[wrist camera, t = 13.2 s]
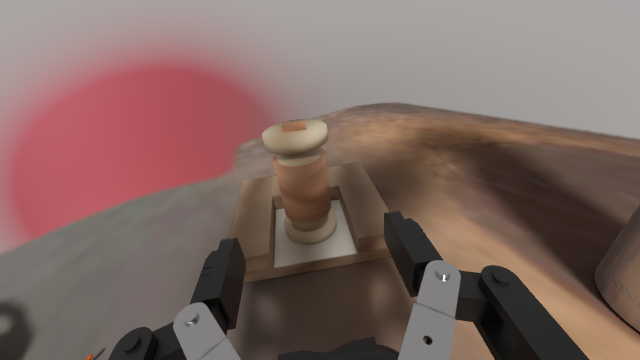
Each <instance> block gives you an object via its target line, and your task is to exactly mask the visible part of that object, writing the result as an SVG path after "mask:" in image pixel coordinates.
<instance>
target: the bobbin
mask: <svg viewBox="0 0 640 360" xmlns="http://www.w3.org/2000/svg"><path fill="white" fill-rule="evenodd" d="M262 137H263V141H264V145H265V148H266V150H267V151H269V152H271V153H275V154H276V155H275V156H274V158H273V163H274V167H275V172H276V176H277V180H278V184H279V189H280V193H281V197H282V202H283V206H284V210H285V214H286V217H285V219H284V227H285V231H286V234H287V236H288V238H289V239H290V240H292V241H293V242H295V243H298V244H302V245H312V244H317V243H320V242H323V241H325V240H327V239H328V238H329V237H331V236H332V235H333V233H334V232H335V230H336V227H337V221H336V214H335V212H334V210H333V209H332V208H331V201H330V192H329V183H328V174H327V165H326V156H325V151H324V150H323V149H322V148H321V147H320V146H322V145H323V144H325V143H326V141H327V140H328V133H327V125H326V124H325V123H324V122H322V121H320V120H315V119H298V120H290V121H286V122H282V123H279V124H276V125H273V126H271V127H270V128H268V129H266V130H265V131H264V132H263V134H262Z"/></svg>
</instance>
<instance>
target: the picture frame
mask: <svg viewBox="0 0 640 360" xmlns="http://www.w3.org/2000/svg"><path fill="white" fill-rule="evenodd" d="M327 174H328V183H329V192H330V201H331V208H332V209H333V210H334V212H335V214H336V221H337V227H336V230H335V232H334V233H333V235H332V236H331V237H329V238H328V239H327V240H325V241H323V242H320V243H317V244H312V245H302V244H298V243H295V242H293V241H292V240H290V239H289V238H288V236H287V234H286V231H285V227H284V219H285V217H286V214H285V210H284V206H283V202H282V197H281V193H280V189H279V184H278V180H277V176H269V177H263V178H256V179H250V180H244V181H243V185H242V189H241V193H240V197H239V201H238V205H237V208H236V212H235V216H234V220H233V224H232V228H231V232H230V236H229V238H235V237H236V238H237V239H238V241H239V244H240V246H241V249H242V251H243V254H244V257H245V261H246V270H245V276H244V282H243V283H248V282H254V281H259V280H265V279H270V278H276V277H282V276H287V275H293V274H298V273H304V272H310V271H315V270H321V269H326V268H332V267H338V266H343V265H349V264H354V263H360V262H366V261H371V260H377V259H382V258H388V257H392V256H391V254H390V252H389V250H388V248H387V246H386V243H385V239H384V213H386V212H390V211H389V210H388V208H387V206H386V204H385V203H384V201H383V199H382V198H381V196H380V194H379V193H378V191H377V189H376V188H375V186H374V184H373V183H372V181H371V179H370V178H369V176H368V174H367V173H366V171H365V169H364V167H363V166H362V164H361V162H359V163H352V164H346V165H339V166H333V167H327Z"/></svg>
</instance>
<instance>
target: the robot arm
mask: <svg viewBox="0 0 640 360" xmlns="http://www.w3.org/2000/svg"><path fill="white" fill-rule="evenodd" d="M384 239H385V243H386V246H387V248H388V250H389V252H390V254H391V256H392V258H393V260H394V262H395V265H396V267H397V269H398V271H399V273H400V275H401V277H402V279H403V282H404V284H405V286H406V288H407V290H408V292H409V294H410V296H411V297H416V296H418V297H417V300H416V302H415V303H414V306H413V309H412V312H411V316H410V319H409V323H408V326H407V330H406V333H405V337H404V340H403V343H402V347H401V350H400V353H399V352H397V351H396V350H394V349H391V348H389V347H386V346H382V345H376V343H375V339H374V337H371V338H366V339H361V340H355V341H350V342H348V343H346V344H344V345H342V346H340V347H338V348H336V349H334V350H332V351H330V352H328V353H321V352H311V351H297V352H291V353H286V354H281V355H278V360H450V356H451V349H452V342H453V335H454V328H455V320H463V321H469V322H473V323H474V324H475V326H476V328H477V330H478V331H479V333H480V335H481V336H482V338H483V340H484V342H485V343H486V345H487V347H488V348H489V350H490V352H491V354H492V355H493V357H494V359H495V360H589V359H588V357H587V356H586V355H585V354H584V353H583V352H582V351H581V349H580V348H579V347H578V346H577V345H576V344H575V343H574V341H573V340H572V339H571V338H570V337H569V336H568V334H567V333H566V332H565V331H564V330H563V329H562V328H561V326H560V325H559V324H558V323H557V322H556V321H555V319H554V318H553V317H552V316H551V315H550V314H549V313H548V311H547V310H546V309H545V308H544V307H543V306H542V304H541V303H540V302H539V301H538V300H537V299H536V298H535V296H534V295H533V294H532V293H531V292H530V291H529V289H528V288H527V287H526V286H525V285H524V284H523V283H522V281H521V280H520V279H519V278H518V277H517V276H516V275H515V274H514V273H513V272H511V271H510V270H508V269H506V268H504V267H501V266H495V265H490V266H486V267H484V268H483V269H482V271H481V273H475V272H465V271H460V270H458V269H457V268H456V267H455V266H454V265H452V264H451V263H448V262H446V261H444V260H443V259H442V258H441V256H440V255H439V253H438V252H437V250H436V249H435V247H434V246H433V245H432V243H431V242H430V240H429V239H428V238H427V236H426V234H425V233H424V232H423V230H422V229H421V227H420V226H419V224H418V223H416V222H415V221H413V220H412V219H411V218H408V219H404V218H403V216H402V214H401V213H400V212H399V211H392V212H386V213H384ZM245 270H246V261H245V257H244V254H243V251H242V249H241V246H240V244H239V241H238V239H237V238H236V237H235V238H229V239H223V240H221V242H220V245H219V248H218V250H217V251H212V252H211V254H210V255H209V256H208V257H207V258H206V260H205V263H204V266H203V270H202V271H201V274H200V277H199V280H198V282H197V285H196V288H195V291H194V294H193V296H192V299H191V302H190V305H189V306H187V307H185V308H184V309H183V310H182V311H181V312H180V313H179V314H178V315H177V317H176V319H175V321H174V322H172V323H170V324H168V325H166V326H164V327H162V328H160V329H157V330H155V331H153V332H152V331H151V330H150V329H149V328H147V327H140V328H136V329H134V330H132V331H130V332H129V333H127V334H126V335H125V336H124V337H123V338H122V339H121V340H120V341H119V342H118V343H117V344H116V346H115V348H114V349H113V351H112V353H111V355H110V357H109V359H108V360H241V359H240V357H239V356H238V354H237V353H236V351H235V349H234V348H233V346H232V345H231V343H230V341H229V340H228V338H227V337H226V334H227V330H230V329H235V328H236V322H237V317H238V311H239V305H240V299H241V293H242V288H243V282H244V276H245ZM594 278H595V283H596V286H597V288H598V290H599V292H600V294H601V295H602V297H603V298H604V299H605V300H606V302H607V303H608V304H609V305H610V307H611V308H612V309H613V310H614V311H615V312H616V313H618V314H619V315H620V316H621V317H622V318H623V319H624V320H625V321H626V322H627V323H629V324H630V325H631V326H633V327H634V328H635V329H637V330H638V331H639V332H640V204H639V206H638V207H637V209H636V210H635V212H634V213H633V215H632V216H631V218H630V219H629V221H628V222H627V223H626V225H625V226H624V228H623V229H622V231H621V232H620V233H619V235H618V236H617V238H616V239H615V241H614V242H613V244H612V245H611V247H610V248H609V250H608V251H607V253H606V254H605V256H604V257H603V259H602V260H601V262H600V263H599V265H598V266H597V268H596V270H595V274H594Z"/></svg>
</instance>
